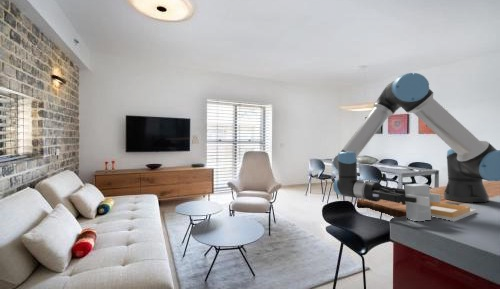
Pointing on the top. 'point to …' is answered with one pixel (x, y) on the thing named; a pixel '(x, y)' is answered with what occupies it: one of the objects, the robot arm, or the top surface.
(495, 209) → the top surface
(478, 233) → the top surface
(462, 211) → the shallow wooden tray
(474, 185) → the robot arm
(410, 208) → the skincare box
